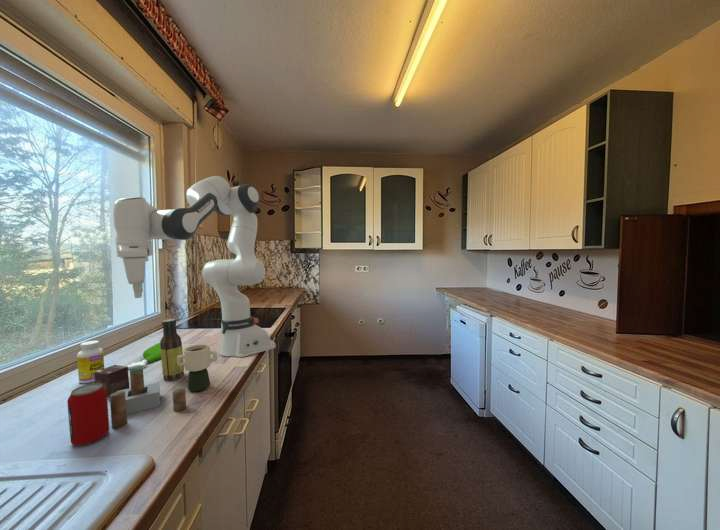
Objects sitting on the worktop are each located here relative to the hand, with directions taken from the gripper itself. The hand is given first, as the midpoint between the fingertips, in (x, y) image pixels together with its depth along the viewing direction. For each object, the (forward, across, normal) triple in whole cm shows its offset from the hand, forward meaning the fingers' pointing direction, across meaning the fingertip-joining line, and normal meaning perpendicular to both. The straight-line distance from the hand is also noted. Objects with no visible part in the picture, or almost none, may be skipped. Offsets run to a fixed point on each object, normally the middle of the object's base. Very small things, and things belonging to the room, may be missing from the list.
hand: (139, 295), depth 94 cm
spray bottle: (+31, -32, +2) cm, 44 cm away
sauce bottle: (+30, -4, +7) cm, 31 cm away
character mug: (+30, +11, +13) cm, 34 cm away
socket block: (+29, +12, -2) cm, 32 cm away
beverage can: (+29, +24, -10) cm, 39 cm away
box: (+30, -3, -9) cm, 31 cm away
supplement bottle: (+30, -19, -16) cm, 39 cm away
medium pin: (+29, +21, -6) cm, 37 cm away
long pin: (+29, +12, -2) cm, 32 cm away
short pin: (+29, +22, +8) cm, 37 cm away
